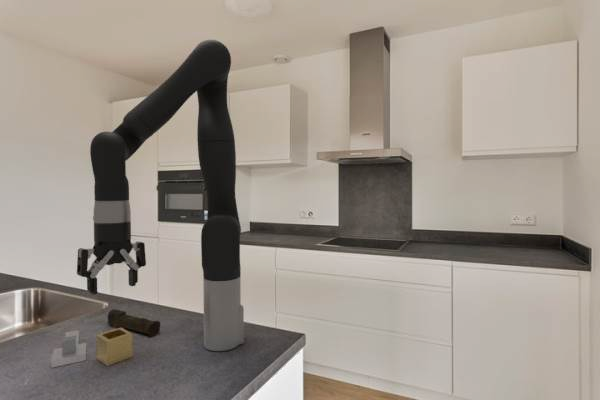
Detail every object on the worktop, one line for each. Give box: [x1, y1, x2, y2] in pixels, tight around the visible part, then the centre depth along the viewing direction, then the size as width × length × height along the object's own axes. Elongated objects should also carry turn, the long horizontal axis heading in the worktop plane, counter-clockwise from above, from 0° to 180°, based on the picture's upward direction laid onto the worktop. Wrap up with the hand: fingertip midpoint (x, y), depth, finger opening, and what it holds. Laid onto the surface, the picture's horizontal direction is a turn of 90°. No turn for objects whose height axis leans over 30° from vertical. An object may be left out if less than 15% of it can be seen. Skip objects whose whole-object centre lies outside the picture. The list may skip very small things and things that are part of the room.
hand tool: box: [107, 309, 161, 338], centre depth 96 cm, size 19×4×5 cm, turn 63°
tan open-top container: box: [95, 327, 133, 367], centre depth 80 cm, size 6×6×6 cm
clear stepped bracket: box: [50, 329, 87, 369], centre depth 84 cm, size 6×17×5 cm, turn 31°
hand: (113, 289), depth 80 cm, fingers open, 8 cm apart
